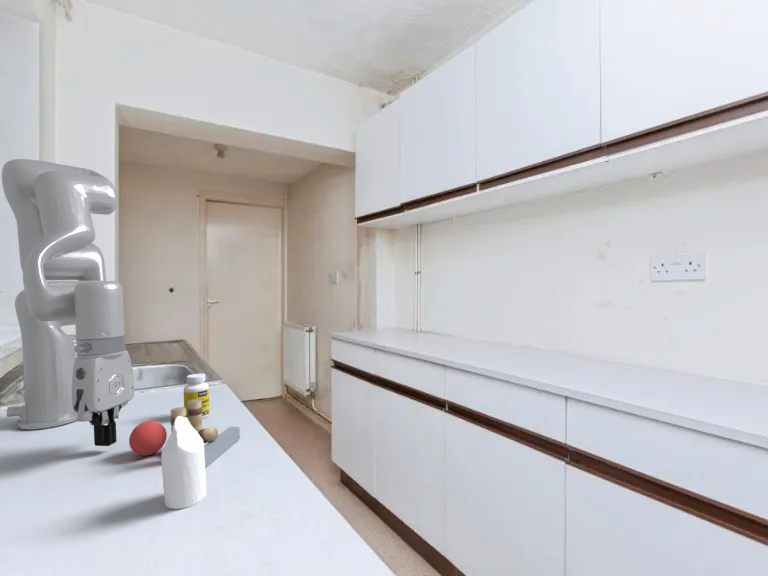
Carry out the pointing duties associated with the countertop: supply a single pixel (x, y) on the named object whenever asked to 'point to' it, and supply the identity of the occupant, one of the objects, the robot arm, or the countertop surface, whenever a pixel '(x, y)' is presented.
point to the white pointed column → (183, 466)
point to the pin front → (208, 434)
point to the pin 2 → (195, 413)
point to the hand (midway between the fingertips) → (105, 444)
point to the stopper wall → (221, 444)
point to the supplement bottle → (197, 392)
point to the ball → (147, 438)
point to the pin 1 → (177, 414)
